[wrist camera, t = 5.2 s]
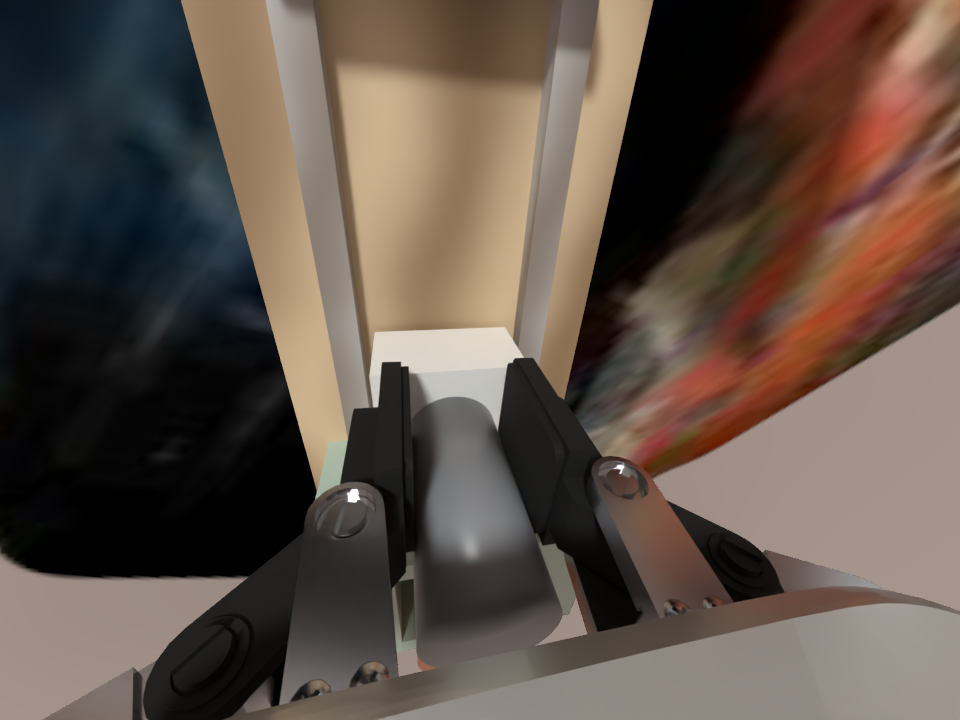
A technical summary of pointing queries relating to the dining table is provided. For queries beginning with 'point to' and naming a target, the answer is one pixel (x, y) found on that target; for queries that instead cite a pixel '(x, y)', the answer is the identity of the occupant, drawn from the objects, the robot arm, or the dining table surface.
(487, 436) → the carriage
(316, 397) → the track
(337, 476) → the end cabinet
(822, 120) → the dining table surface
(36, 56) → the dining table surface
